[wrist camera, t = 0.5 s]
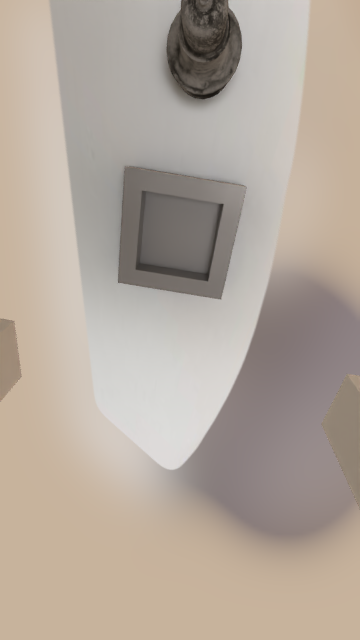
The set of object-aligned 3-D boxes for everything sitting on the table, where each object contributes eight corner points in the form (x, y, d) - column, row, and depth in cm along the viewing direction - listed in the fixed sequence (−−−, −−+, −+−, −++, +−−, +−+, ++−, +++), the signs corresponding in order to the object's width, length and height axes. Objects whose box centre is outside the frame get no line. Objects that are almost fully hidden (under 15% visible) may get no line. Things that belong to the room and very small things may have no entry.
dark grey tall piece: (191, 117, 29) (184, 86, 18) (158, 48, 27) (128, -33, 16) (248, 76, 27) (278, 16, 16) (217, 0, 25) (229, -127, 14)
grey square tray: (131, 166, 31) (124, 166, 28) (242, 185, 31) (246, 187, 28) (124, 274, 36) (117, 282, 33) (219, 289, 36) (221, 299, 34)
